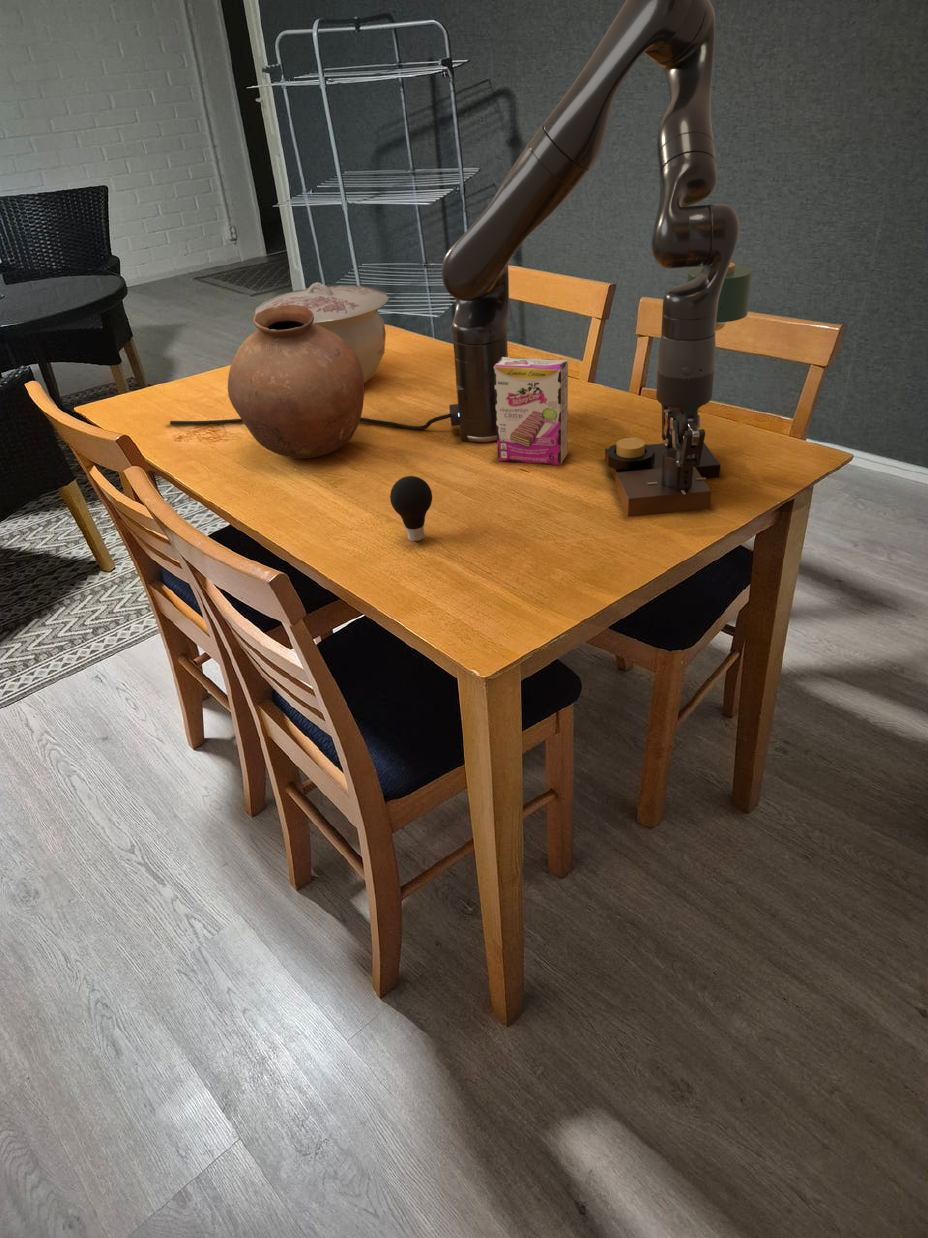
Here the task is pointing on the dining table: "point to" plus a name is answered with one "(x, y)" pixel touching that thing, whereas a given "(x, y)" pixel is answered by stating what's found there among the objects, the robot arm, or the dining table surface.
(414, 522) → the light bulb
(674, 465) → the dimmer knob
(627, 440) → the button
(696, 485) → the dimmer panel
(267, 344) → the pottery
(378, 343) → the chamber pot
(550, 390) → the candy bar box
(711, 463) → the lamp base
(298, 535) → the dining table surface
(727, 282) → the desk lamp
